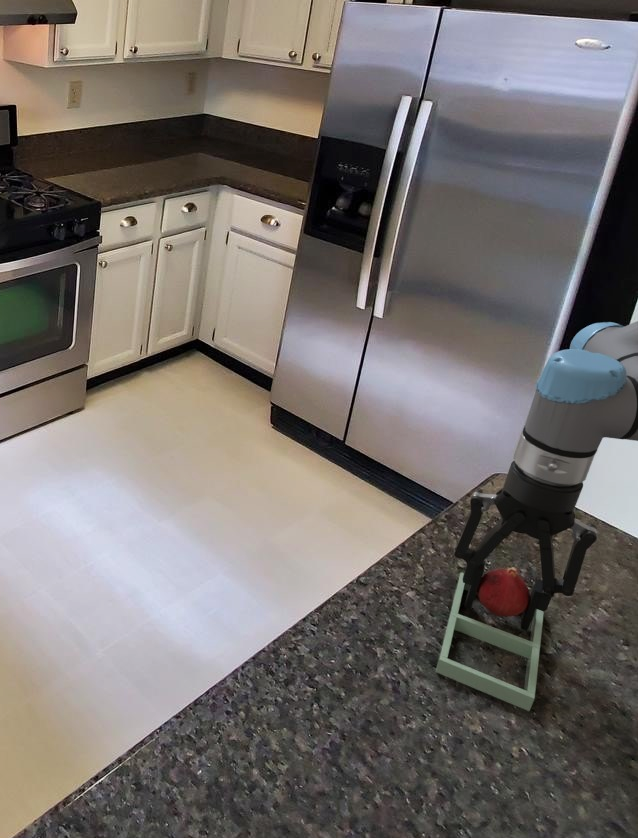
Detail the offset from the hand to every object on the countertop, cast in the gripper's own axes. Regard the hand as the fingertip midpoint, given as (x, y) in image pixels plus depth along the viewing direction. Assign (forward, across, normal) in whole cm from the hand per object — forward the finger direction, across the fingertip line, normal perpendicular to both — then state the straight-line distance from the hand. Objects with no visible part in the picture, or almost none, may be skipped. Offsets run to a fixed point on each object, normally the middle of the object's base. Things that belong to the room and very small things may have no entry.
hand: (496, 612), depth 108 cm
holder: (+2, 0, -5) cm, 5 cm away
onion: (0, 0, 0) cm, 0 cm away
